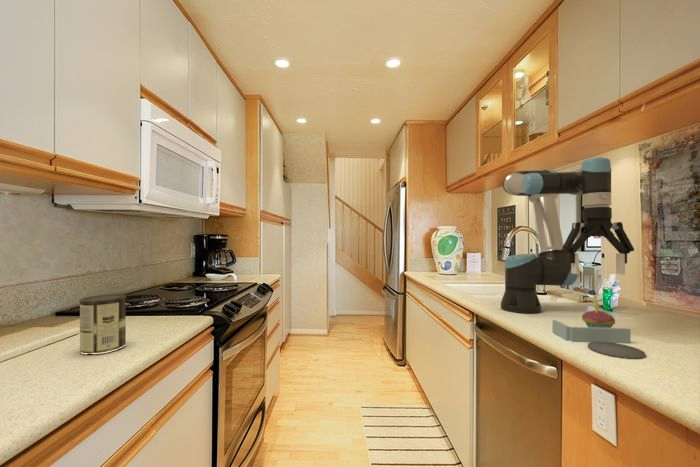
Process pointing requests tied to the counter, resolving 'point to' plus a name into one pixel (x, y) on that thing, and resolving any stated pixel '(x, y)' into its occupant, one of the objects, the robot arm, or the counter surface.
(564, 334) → the pen walls
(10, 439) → the counter surface
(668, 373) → the counter surface
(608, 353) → the pad
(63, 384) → the counter surface
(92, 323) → the coffee can
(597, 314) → the cupcake
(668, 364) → the counter surface
